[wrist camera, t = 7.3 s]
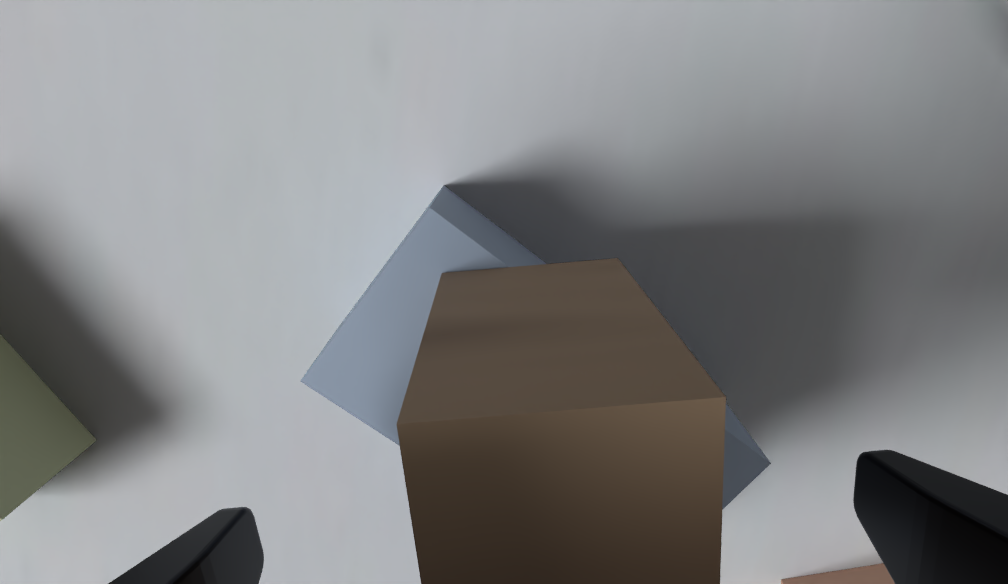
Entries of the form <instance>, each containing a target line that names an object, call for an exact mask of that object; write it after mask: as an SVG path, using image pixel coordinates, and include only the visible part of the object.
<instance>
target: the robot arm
mask: <svg viewBox="0 0 1008 584" xmlns="http://www.w3.org/2000/svg"><path fill="white" fill-rule="evenodd" d="M854 508H855V512H856V514H857V517H858V519H859V521H860V522H861V524H862V526H863V528H864V530H865V531H866V533H867V535H868V537H869V538H870V540H871V542H872V544H873V546H874V547H875V549H876V551H877V553H878V554H879V556H880V558H881V560H882V562H883V563H884V565H885V567H886V569H887V570H888V572H889V574H890V576H891V578H892V579H893V581H894V583H895V584H1008V495H1007V494H1004V493H1001V492H999V491H996V490H994V489H991V488H988V487H986V486H983V485H981V484H978V483H976V482H973V481H970V480H968V479H965V478H963V477H960V476H957V475H955V474H952V473H950V472H947V471H944V470H942V469H939V468H937V467H934V466H931V465H929V464H926V463H924V462H921V461H918V460H916V459H913V458H911V457H908V456H906V455H903V454H900V453H898V452H895V451H892V450H880V451H869V452H863V453H862V454H860V455H859V457H858V460H857V466H856V476H855V487H854ZM263 563H264V555H263V549H262V545H261V541H260V537H259V534H258V530H257V526H256V522H255V518H254V515H253V513H252V511H251V510H250V509H249V508H247V507H239V508H227V509H221V510H219V511H217V512H216V513H214V514H213V515H211V516H210V517H208V518H207V519H205V520H204V521H202V522H201V523H199V524H198V525H196V526H195V527H193V528H192V529H190V530H189V531H187V532H186V533H184V534H183V535H181V536H179V537H178V538H176V539H175V540H173V541H172V542H170V543H169V544H167V545H166V546H164V547H163V548H161V549H160V550H158V551H157V552H155V553H154V554H152V555H151V556H149V557H148V558H146V559H145V560H143V561H142V562H140V563H139V564H137V565H136V566H134V567H133V568H131V569H130V570H128V571H127V572H125V573H124V574H122V575H121V576H119V577H118V578H116V579H115V580H113V581H112V582H110V583H109V584H259V580H260V577H261V573H262V569H263Z"/></svg>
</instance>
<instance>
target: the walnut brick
mask: <svg viewBox="0 0 1008 584" xmlns="http://www.w3.org/2000/svg"><path fill="white" fill-rule="evenodd" d="M725 411H726V396H725V395H724V394H723V393H722V391H721V390H720V389H719V387H718V386H717V385H716V384H715V382H714V381H713V380H712V378H711V377H710V376H709V375H708V373H707V372H706V371H705V369H704V368H703V367H702V366H701V364H700V363H699V362H698V360H697V359H696V358H695V357H694V355H693V354H692V353H691V351H690V350H689V349H688V348H687V346H686V345H685V344H684V342H683V341H682V340H681V339H680V337H679V336H678V335H677V333H676V332H675V331H674V330H673V328H672V327H671V326H670V325H669V323H668V322H667V321H666V319H665V318H664V317H663V316H662V314H661V313H660V312H659V310H658V309H657V308H656V307H655V305H654V304H653V303H652V301H651V300H650V299H649V298H648V296H647V295H646V294H645V292H644V291H643V290H642V289H641V287H640V286H639V285H638V283H637V282H636V281H635V280H634V278H633V277H632V276H631V274H630V273H629V272H628V271H627V269H626V268H625V267H624V265H623V264H622V263H621V262H620V260H619V259H618V258H612V259H600V260H589V261H577V262H565V263H553V264H541V265H530V266H518V267H506V268H494V269H482V270H471V271H459V272H447V273H442V274H441V277H440V280H439V284H438V287H437V290H436V294H435V297H434V300H433V304H432V307H431V310H430V314H429V317H428V320H427V324H426V327H425V331H424V334H423V337H422V341H421V344H420V347H419V351H418V354H417V357H416V361H415V364H414V367H413V371H412V374H411V377H410V381H409V384H408V387H407V391H406V394H405V397H404V401H403V404H402V407H401V411H400V414H399V417H398V421H397V431H398V437H399V443H400V450H401V456H402V463H403V469H404V475H405V482H406V488H407V495H408V501H409V507H410V514H411V520H412V527H413V533H414V540H415V546H416V552H417V559H418V565H419V572H420V578H421V584H720V562H721V532H722V501H723V471H724V441H725Z"/></svg>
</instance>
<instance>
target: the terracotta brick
mask: <svg viewBox="0 0 1008 584" xmlns="http://www.w3.org/2000/svg"><path fill="white" fill-rule="evenodd" d="M781 584H895V583H894V581H893V579H892V578H891V576H890V574H889V572H888V570H887V569H886V567H885V565H884V563H883V564H876V565H870V566H864V567H858V568H851V569H845V570H839V571H832V572H826V573H820V574H813V575H807V576H801V577H794V578H788V579H782V580H781Z"/></svg>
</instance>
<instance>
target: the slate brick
mask: <svg viewBox="0 0 1008 584" xmlns="http://www.w3.org/2000/svg"><path fill="white" fill-rule="evenodd" d="M541 264H546V263H545V262H544V261H542V260H541V259H540V258H539V257H537V256H536V255H535V254H533V253H532V252H531V251H529V250H528V249H527V248H525V247H524V246H523V245H522V244H520V243H519V242H518V241H516V240H515V239H514V238H512V237H511V236H510V235H508V234H507V233H506V232H504V231H503V230H502V229H501V228H499V227H498V226H497V225H495V224H494V223H493V222H491V221H490V220H489V219H487V218H486V217H485V216H483V215H482V214H481V213H480V212H478V211H477V210H476V209H474V208H473V207H472V206H470V205H469V204H468V203H466V202H465V201H464V200H462V199H461V198H460V197H459V196H457V195H456V194H455V193H453V192H452V191H451V190H449V189H448V188H447V187H445V186H443V187H442V188H441V190H440V191H439V192H438V194H437V195H436V197H435V198H434V199H433V201H432V202H431V203H430V205H429V206H428V207H427V209H426V210H425V211H424V213H423V214H422V215H421V217H420V218H419V219H418V221H417V222H416V224H415V225H414V226H413V228H412V229H411V230H410V232H409V233H408V234H407V236H406V237H405V238H404V240H403V241H402V242H401V244H400V245H399V246H398V248H397V249H396V250H395V252H394V253H393V255H392V256H391V257H390V259H389V260H388V261H387V263H386V264H385V265H384V267H383V268H382V269H381V271H380V272H379V273H378V275H377V276H376V277H375V279H374V280H373V281H372V283H371V284H370V286H369V287H368V288H367V290H366V291H365V292H364V294H363V295H362V296H361V298H360V299H359V300H358V302H357V303H356V304H355V306H354V307H353V308H352V310H351V311H350V312H349V314H348V315H347V317H346V318H345V319H344V321H343V322H342V323H341V325H340V326H339V327H338V329H337V330H336V332H335V333H334V334H333V336H332V337H331V339H330V340H329V341H328V343H327V344H326V346H325V347H324V348H323V350H322V351H321V353H320V354H319V356H318V357H317V358H316V360H315V361H314V363H313V364H312V365H311V367H310V368H309V370H308V371H307V372H306V374H305V375H304V377H303V378H302V380H301V382H302V383H304V384H305V385H307V386H308V387H310V388H311V389H313V390H315V391H316V392H318V393H319V394H321V395H322V396H324V397H325V398H327V399H328V400H330V401H332V402H333V403H335V404H336V405H338V406H339V407H341V408H342V409H344V410H345V411H347V412H348V413H350V414H352V415H353V416H355V417H356V418H358V419H359V420H361V421H362V422H364V423H365V424H367V425H369V426H370V427H372V428H373V429H375V430H376V431H378V432H379V433H381V434H382V435H384V436H385V437H387V438H389V439H390V440H392V441H393V442H395V443H396V444H398V445H399V446H400V443H399V437H398V431H397V421H398V417H399V414H400V411H401V407H402V404H403V401H404V397H405V394H406V391H407V387H408V384H409V381H410V377H411V374H412V371H413V367H414V364H415V361H416V357H417V354H418V351H419V347H420V344H421V341H422V337H423V334H424V331H425V327H426V324H427V320H428V317H429V314H430V310H431V307H432V304H433V300H434V297H435V294H436V290H437V287H438V284H439V280H440V277H441V274H442V273H447V272H459V271H471V270H482V269H494V268H506V267H518V266H530V265H541ZM770 464H771V463H770V462H769V460H768V459H767V457H766V456H765V455H764V453H763V452H762V451H761V449H760V448H759V447H758V445H757V444H756V443H755V441H754V440H753V439H752V437H751V436H750V435H749V433H748V432H747V430H746V429H745V428H744V426H743V425H742V424H741V422H740V421H739V420H738V418H737V417H736V416H735V414H734V413H733V412H732V410H731V409H730V408H729V406H728V405H727V404H726V411H725V441H724V471H723V501H722V509H723V508H724V507H726V506H727V505H728V504H729V503H730V502H731V501H732V500H733V499H734V498H735V497H736V496H737V495H738V494H739V493H740V492H741V491H742V490H743V489H744V488H745V487H747V486H748V485H749V484H750V483H751V482H752V481H753V480H754V479H755V478H756V477H757V476H758V475H759V474H760V473H761V472H762V471H763V470H764V469H765V468H766V467H767V466H769V465H770Z"/></svg>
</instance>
